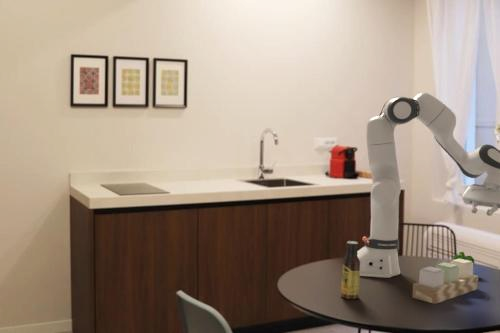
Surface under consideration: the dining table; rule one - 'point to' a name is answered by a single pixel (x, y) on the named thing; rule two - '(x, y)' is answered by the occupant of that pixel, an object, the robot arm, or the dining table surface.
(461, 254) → the bell pepper
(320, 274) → the dining table surface
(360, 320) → the dining table surface
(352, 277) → the sauce bottle
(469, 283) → the keypad housing
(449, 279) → the sage key
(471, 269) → the cream key
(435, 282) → the grey key
